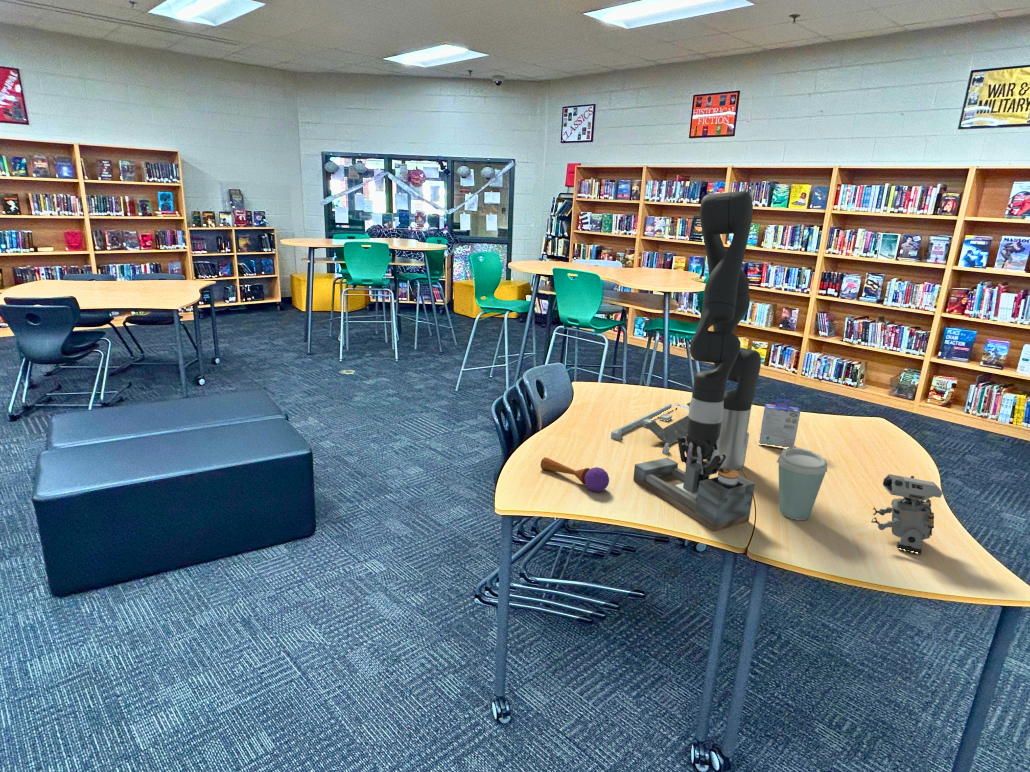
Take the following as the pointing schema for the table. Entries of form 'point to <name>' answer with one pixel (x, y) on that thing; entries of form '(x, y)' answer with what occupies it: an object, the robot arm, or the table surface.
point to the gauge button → (728, 478)
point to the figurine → (909, 510)
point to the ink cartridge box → (779, 424)
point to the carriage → (690, 481)
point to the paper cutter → (658, 427)
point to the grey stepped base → (713, 499)
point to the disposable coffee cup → (799, 481)
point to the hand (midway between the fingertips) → (695, 484)
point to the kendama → (580, 474)
